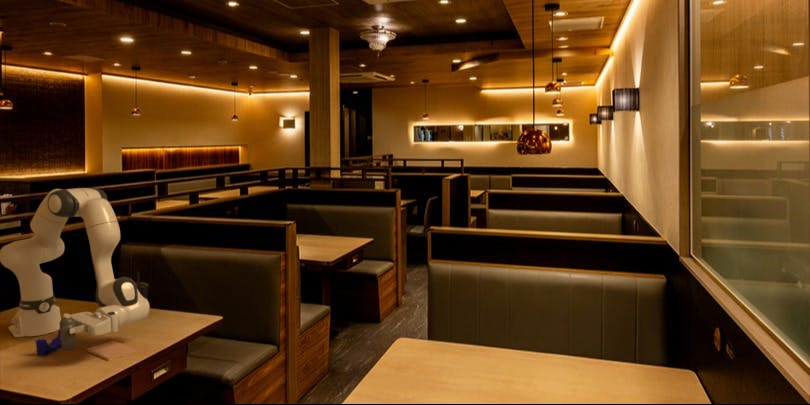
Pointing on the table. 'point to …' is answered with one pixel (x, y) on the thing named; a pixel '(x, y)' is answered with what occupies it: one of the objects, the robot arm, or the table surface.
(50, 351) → the blue u-shaped bracket
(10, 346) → the table surface
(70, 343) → the charger plug
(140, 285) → the drinking cup
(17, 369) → the table surface
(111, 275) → the robot arm
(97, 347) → the board
